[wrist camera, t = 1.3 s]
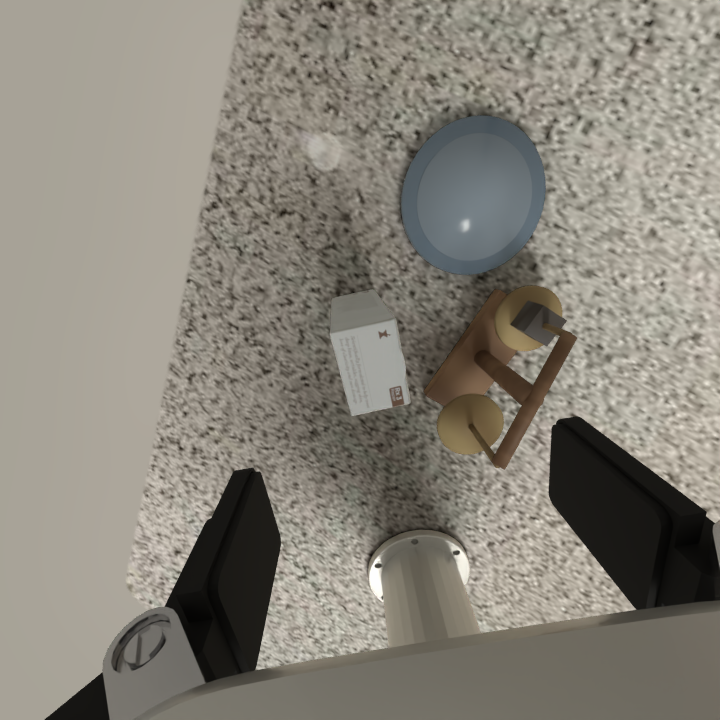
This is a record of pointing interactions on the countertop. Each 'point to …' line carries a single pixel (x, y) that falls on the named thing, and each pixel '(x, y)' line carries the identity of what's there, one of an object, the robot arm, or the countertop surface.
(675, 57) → the countertop surface
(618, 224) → the countertop surface
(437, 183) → the dish
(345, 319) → the skincare box
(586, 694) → the robot arm
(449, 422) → the balance
